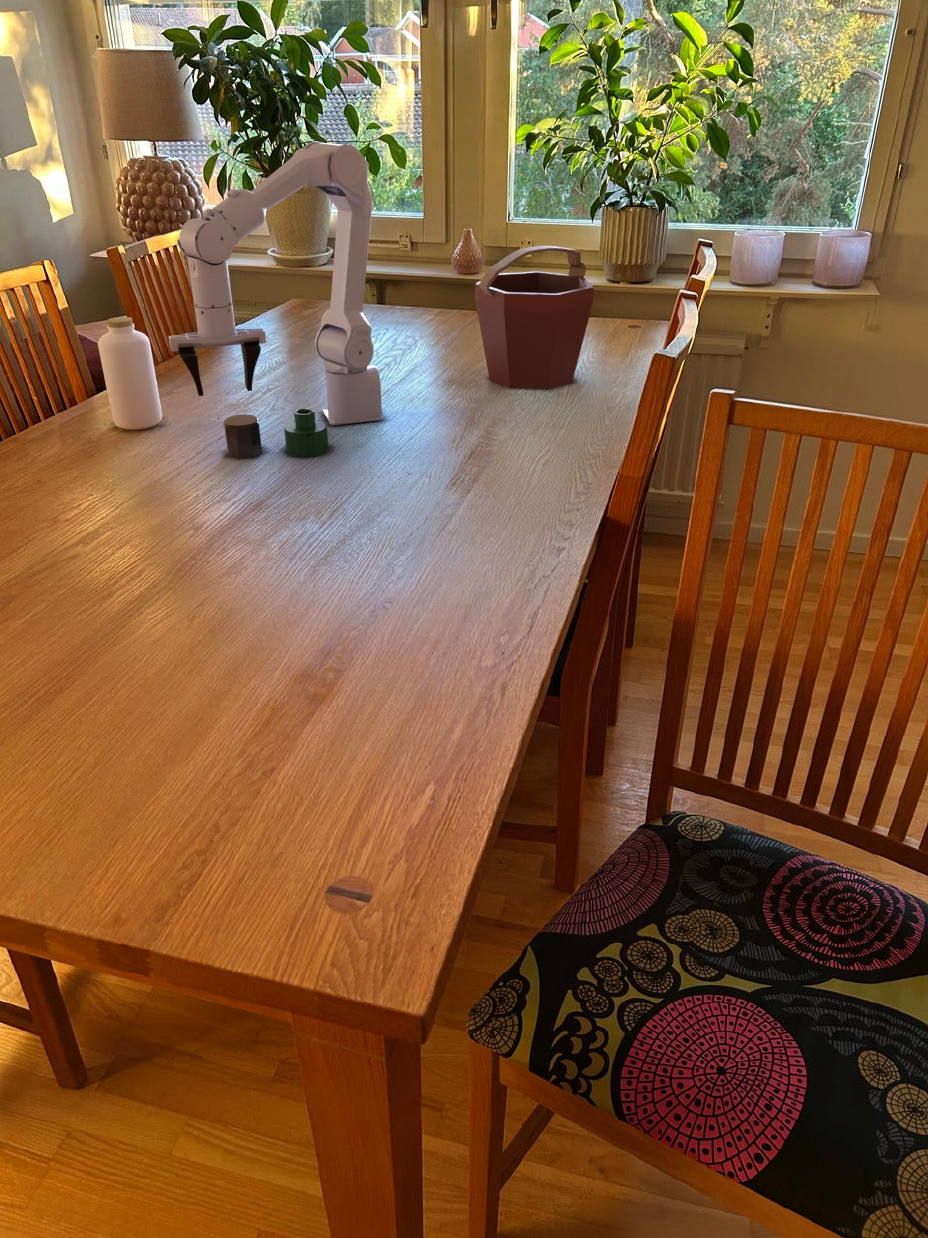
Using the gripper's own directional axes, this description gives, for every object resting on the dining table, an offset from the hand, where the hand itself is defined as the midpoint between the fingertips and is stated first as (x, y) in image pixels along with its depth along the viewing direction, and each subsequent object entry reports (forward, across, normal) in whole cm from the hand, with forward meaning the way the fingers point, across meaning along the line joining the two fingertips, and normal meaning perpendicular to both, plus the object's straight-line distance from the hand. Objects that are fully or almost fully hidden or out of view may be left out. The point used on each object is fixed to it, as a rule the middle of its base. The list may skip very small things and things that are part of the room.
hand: (225, 391), depth 148 cm
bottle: (+10, -12, +5) cm, 16 cm away
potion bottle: (+10, +14, -18) cm, 25 cm away
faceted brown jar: (+10, -2, +3) cm, 10 cm away
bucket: (+10, -63, -19) cm, 67 cm away
